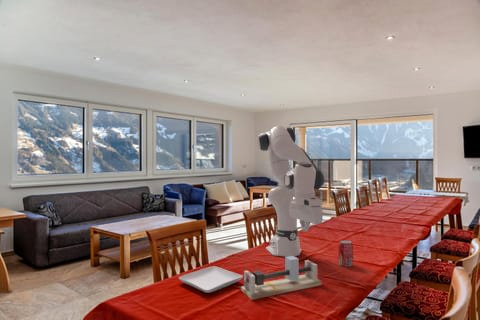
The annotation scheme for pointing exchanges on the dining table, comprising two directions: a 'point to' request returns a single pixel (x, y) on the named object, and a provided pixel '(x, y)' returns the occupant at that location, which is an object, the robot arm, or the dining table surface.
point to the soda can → (345, 253)
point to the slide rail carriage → (292, 268)
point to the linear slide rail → (279, 282)
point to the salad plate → (210, 279)
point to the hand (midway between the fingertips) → (304, 230)
